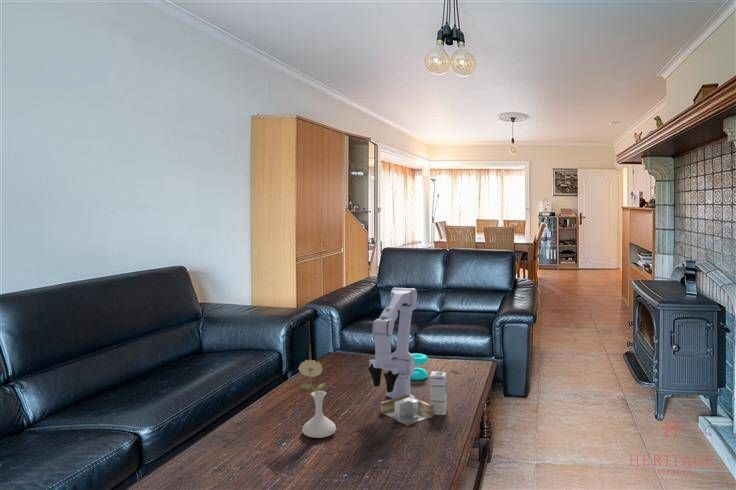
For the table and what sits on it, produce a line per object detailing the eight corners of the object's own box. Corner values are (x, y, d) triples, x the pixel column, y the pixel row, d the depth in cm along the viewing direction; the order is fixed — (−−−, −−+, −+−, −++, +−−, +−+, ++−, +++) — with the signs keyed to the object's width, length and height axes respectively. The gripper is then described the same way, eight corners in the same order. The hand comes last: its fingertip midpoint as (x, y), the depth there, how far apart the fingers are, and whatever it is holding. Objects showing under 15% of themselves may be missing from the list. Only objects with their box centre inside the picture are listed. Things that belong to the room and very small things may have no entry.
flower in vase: (341, 429, 167) (340, 357, 166) (328, 443, 156) (326, 366, 155) (307, 424, 171) (305, 354, 170) (291, 438, 160) (290, 363, 159)
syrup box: (446, 415, 177) (446, 376, 177) (429, 414, 179) (429, 375, 178) (447, 409, 183) (446, 371, 182) (431, 408, 184) (431, 370, 184)
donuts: (420, 359, 214) (401, 356, 220) (421, 382, 214) (401, 378, 220) (431, 354, 222) (412, 351, 228) (431, 376, 222) (413, 372, 228)
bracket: (408, 413, 179) (408, 397, 179) (418, 417, 175) (418, 400, 175) (394, 418, 174) (394, 402, 174) (404, 422, 170) (404, 405, 170)
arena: (380, 413, 180) (380, 402, 180) (406, 404, 188) (406, 394, 188) (406, 426, 169) (406, 414, 169) (433, 416, 176) (433, 405, 176)
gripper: (362, 349, 180) (362, 385, 181) (387, 358, 169) (387, 396, 169) (377, 346, 185) (377, 381, 185) (402, 354, 173) (402, 392, 174)
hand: (383, 388), depth 178 cm, fingers open, 7 cm apart
